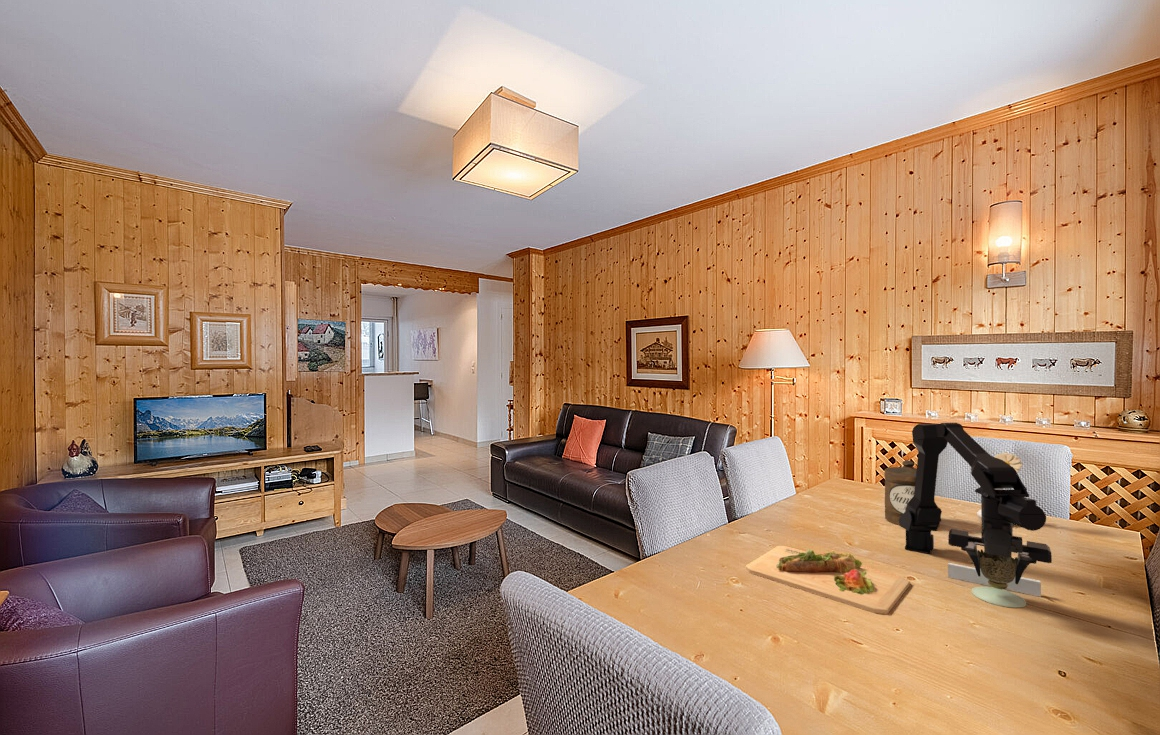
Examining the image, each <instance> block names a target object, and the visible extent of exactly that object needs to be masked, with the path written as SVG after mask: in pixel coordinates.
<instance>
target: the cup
mask: <svg viewBox="0 0 1160 735" xmlns="http://www.w3.org/2000/svg"><path fill="white" fill-rule="evenodd" d="M977 551H978V558H979V564H980V569H981V572H982V574H983V575H984V576H985V577H986V578H987V579H989V580H988V583H989V585H990V586H989V587H992V588H996V589H1002V590H1006V588H1007V587H1008V585H1007V583H1010V582H1012V581H1013V580H1014V578H1015V575H1016V569H1017V562H1018V559H1017V558H1018V556H1015V557H1014V558H1013V557H1012V556H1011V557H1009V558H1007V557H1003V556H999V555H994V554H993V555H990V554H987V553H985V551H984V549H982V548H981V549H980V550H979V549H977Z"/></svg>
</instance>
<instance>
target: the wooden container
mask: <svg viewBox="0 0 1160 735" xmlns="http://www.w3.org/2000/svg"><path fill="white" fill-rule="evenodd" d="M901 464H902V465H903V466H893V467H887V468H884V518H885V520H886V521H887V522H889V523H892V524H894V525H898V526H900V524H899V518H900V517H901V516H902V515H903V514H904V512H905V511H906V506H907V503H908V502H909V501H910V500H911V499H912V498H913V497H914V492H915V482H916V471H917V467H916V468H915V467H914V465H915V464H914V462H913V461H912V460H908V459H906V460H905V459H904V460H903V461H902V463H901ZM934 501H935V499H934ZM935 502H936V501H935Z"/></svg>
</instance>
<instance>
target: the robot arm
mask: <svg viewBox="0 0 1160 735" xmlns="http://www.w3.org/2000/svg"><path fill="white" fill-rule="evenodd" d="M911 435H912V443H913V445H914V446H915V448H916V450H917V461H916V469H917V471H916V482H915V492H914V497H913V498H912V499H911V500H910V501H909V502H908V503H907V506H906V511H905V512H904V514H903V515H902V516H901V517H900V518H899V524H900V525H899V527H900V528H902V529H905V546H904V549H905V550H908V551H913V552H919V553H922V554H923V553H924V554H932V551H934V549H935V539H934V534H932V532H934V531H935V532H938V529H939V527H940V522H942V518H941V517H942V513H943V511H942V509H941V508H939V506H938V504H937V503H936V501H934V500H935V496H936V486H937V479H938V478H937V476H938V467H939V466H938V465H939V457H940V455H941V453H942V452H943V451H944V450H946V448H947V446H948V444H949V445H950V446H951V448H953V449H954V450H955V451H956V452H957V453H958V454H959V455H960V457H961V458H962V459H963V460H964V461H965V462H966V463H967V464H968V465H969V467H970V474H971V476H972V477H973V479H974V480H975V482H976V483H977V484H978V486H979V487H978V488H976V489H974V492H975V493H976V494H979V495H980V496H981V497H980V498H981V499H980V503H981V506H980V507H981V508H980V510H981V515H982V518H981V537H979V536H972V535H969V531H968V530H961V529H957V528H951V529H949V530H948V536H947V537H948V545H949V546H952V547H957V548H960V550H961V551H962V552H963V551H964V552H966V553H967V554H968V556H969V557H970V558H969V559H971V562H972V563H973V567H974V568H975V569H976V571H977V574H978V576H980V564H979V558H978V546H981V547H984V548H983V552H984V551H985V553H987V554H990V555H993V554H994V555H999V556H1003V557H1007V558H1009V557H1011V556H1012V553H1014V554H1017V559H1018V562H1017V569H1016V575H1015V584H1018V582H1019V580H1020V578H1021V577H1023V575H1024V574H1023V573H1024V572H1025V571H1026V568H1027V567H1028V566H1030V565H1031V564H1033V565H1034V564H1037V562H1040V563H1044V564H1045V563H1046V564H1051V563H1052V561H1053V560H1052V550H1051V547H1050V546H1049V545H1048V544H1046V543H1042V542H1035V541H1029V540H1026V544H1023V537H1021V536H1015V535H1013V530H1014V529H1013V528H1014V527H1013V525H1015V526H1017V527H1020V528H1023V529H1025V530H1028V531H1031V532H1034V531H1038V530H1040V529H1042V528H1043V527H1044V526H1045V524H1046V522H1047V515H1046V514H1045V512H1044V510H1043V508H1041V507H1040V506H1038V505H1037V501H1036V499H1033V498H1029V497H1030V494H1029V492H1028V489H1027V487H1026V486H1025V484H1024V483H1023V481H1022V478H1021V477H1020V476H1019V474H1018V473H1017V472H1016V470H1015V469H1014V468H1013V467H1012V466H1010V465H1009V464H1007V463H1006V462H1005V461H1003V460H1001V459H998V458H995V456H992V455H991V454H990V453H988V452H987V451H986V450H985V449H984V448H983V447H982V446H981V445H980V444H979V443H978V442H977V441H976V440H975V439H974V438H973V437H972V436H971V435H969V433H968V432H967V431H966V430H965V429H964V426H963V425H962V424H960V423H959V422H940V423H918V424H915V425H914V426H913V428H912V430H911ZM996 489H1002V490H996Z"/></svg>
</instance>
